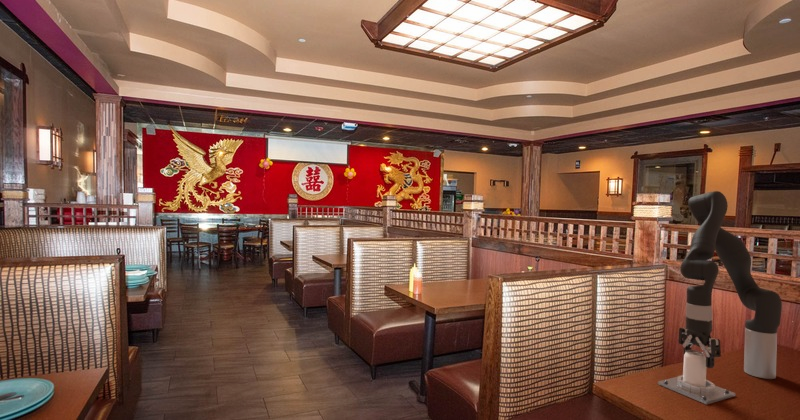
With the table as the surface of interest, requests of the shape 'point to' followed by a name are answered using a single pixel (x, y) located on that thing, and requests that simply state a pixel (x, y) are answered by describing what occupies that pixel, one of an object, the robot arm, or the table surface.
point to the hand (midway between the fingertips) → (698, 362)
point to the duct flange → (697, 390)
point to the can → (694, 368)
